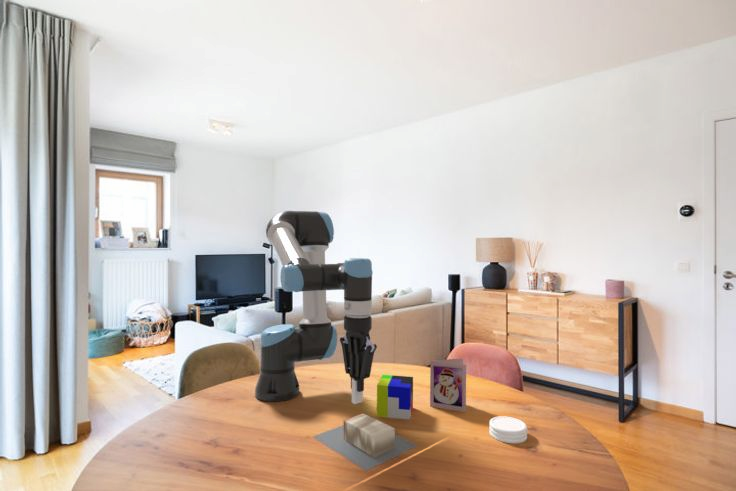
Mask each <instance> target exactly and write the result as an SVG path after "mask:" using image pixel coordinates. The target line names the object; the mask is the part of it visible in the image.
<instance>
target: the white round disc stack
mask: <svg viewBox="0 0 736 491" xmlns="http://www.w3.org/2000/svg"><path fill="white" fill-rule="evenodd" d="M488 423H489V426H488V427H489V432H488V433H489V435H490V436H491V437H492V438H493V439H495V440H497V441H499V442H502V443H505V444H521V443H524V442H526V441H527V439H528V426H527V424H526V423H525V422H524V421H522V420H520V419H518V418H515V417H512V416H504V415H502V416H501V415H500V416H494V417H492V418H490V419H489V422H488Z"/></svg>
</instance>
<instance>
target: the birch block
mask: <svg viewBox="0 0 736 491" xmlns="http://www.w3.org/2000/svg"><path fill="white" fill-rule="evenodd" d="M343 425H344V440H346V441H348V442H350V443H351V444H353V445H355V446H356V447H358V448H360V449H361V450H363V451H365V452H367V453H368V454H370V455H372V456H373V457H376V456H378V455H380V454H382V453H385V452H387V451H389V450H391V449H393V448H395V434H396V433H395V430H396V429H395V427H393V426H390V425H389V424H386V423H385V422H383V421H380V420H378V419H376V418H374V417H372V416H371V415H368V414H366V413H361V414H360V413H359V414H357V415H355V416H352V417H350V418H346V419H344V420H343Z"/></svg>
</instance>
